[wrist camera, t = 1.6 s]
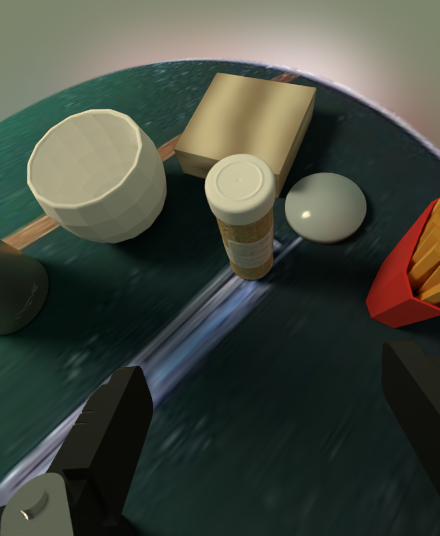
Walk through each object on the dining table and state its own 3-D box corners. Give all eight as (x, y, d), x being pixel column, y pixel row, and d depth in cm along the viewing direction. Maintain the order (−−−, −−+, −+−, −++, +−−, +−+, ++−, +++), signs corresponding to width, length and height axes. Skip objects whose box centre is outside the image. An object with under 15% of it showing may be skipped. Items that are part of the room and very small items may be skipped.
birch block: (183, 172, 37) (173, 149, 34) (222, 101, 41) (217, 72, 37) (278, 198, 34) (278, 174, 30) (311, 117, 37) (316, 87, 34)
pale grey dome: (274, 231, 33) (274, 226, 32) (298, 171, 35) (299, 165, 34) (351, 254, 30) (354, 249, 29) (372, 188, 33) (375, 183, 32)
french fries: (403, 343, 27) (508, 307, 15) (354, 320, 28) (415, 270, 16) (437, 257, 29) (553, 164, 17) (390, 239, 30) (467, 142, 18)
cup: (153, 272, 33) (110, 229, 24) (62, 244, 36) (-5, 197, 27) (194, 179, 37) (170, 112, 28) (108, 161, 40) (62, 96, 31)
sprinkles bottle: (233, 239, 33) (210, 149, 21) (276, 242, 32) (279, 151, 20) (226, 279, 31) (197, 208, 19) (271, 284, 31) (271, 213, 18)
